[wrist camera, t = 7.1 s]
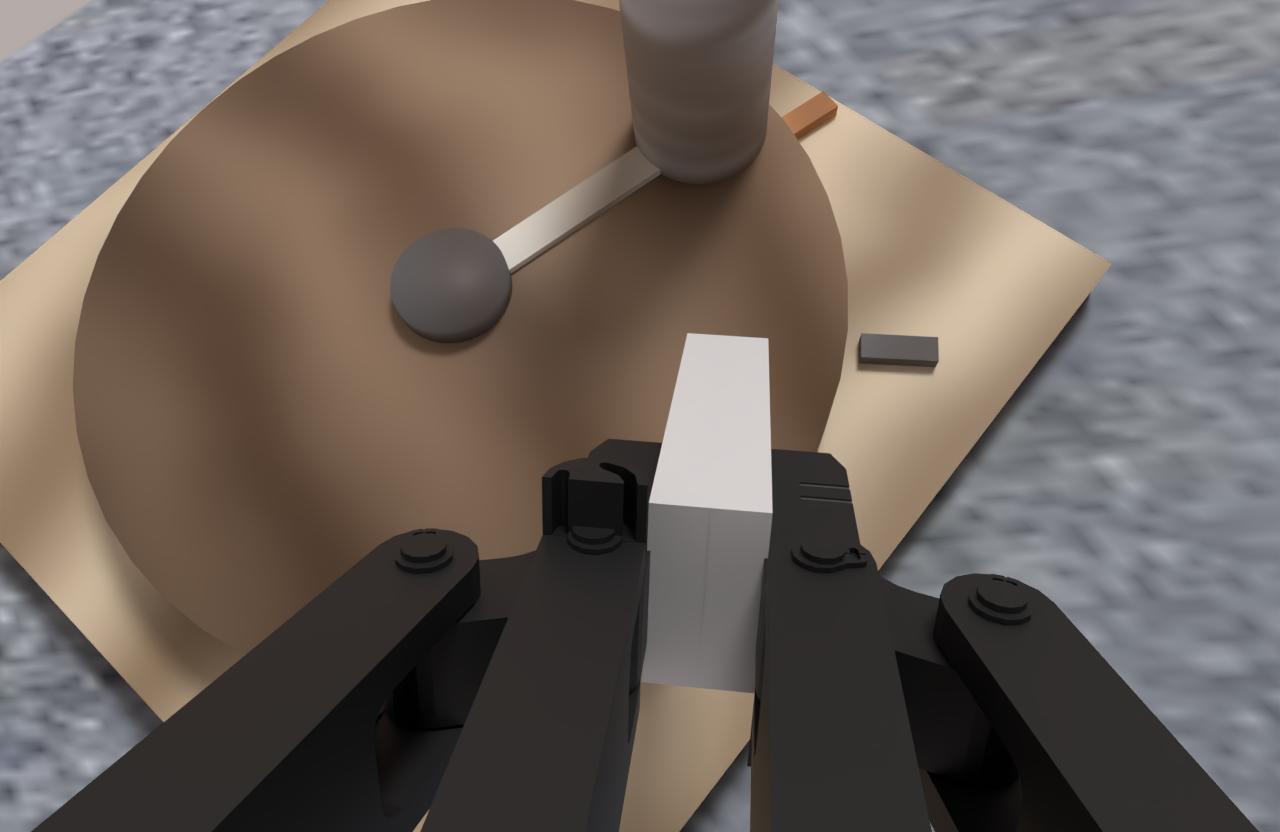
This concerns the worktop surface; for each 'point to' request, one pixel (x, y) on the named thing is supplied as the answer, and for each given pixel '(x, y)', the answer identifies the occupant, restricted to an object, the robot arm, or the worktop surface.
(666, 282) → the dial
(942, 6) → the worktop surface
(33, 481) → the stand plate
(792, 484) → the robot arm
